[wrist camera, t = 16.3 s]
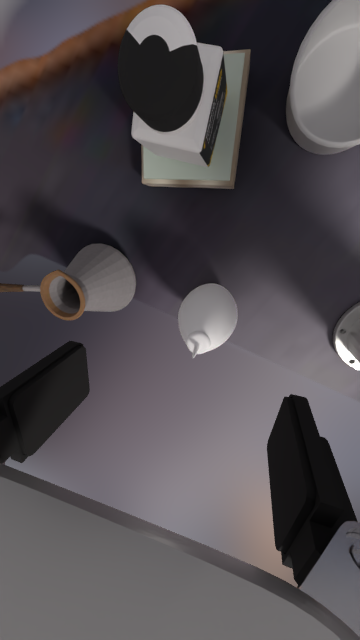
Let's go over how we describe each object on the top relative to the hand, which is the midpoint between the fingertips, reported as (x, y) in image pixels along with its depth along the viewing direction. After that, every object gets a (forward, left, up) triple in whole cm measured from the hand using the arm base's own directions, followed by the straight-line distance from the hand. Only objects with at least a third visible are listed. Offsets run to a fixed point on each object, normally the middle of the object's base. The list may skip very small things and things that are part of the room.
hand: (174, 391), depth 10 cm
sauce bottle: (+1, +5, -28) cm, 29 cm away
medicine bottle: (+6, -17, -25) cm, 30 cm away
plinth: (+6, -17, -28) cm, 33 cm away
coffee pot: (+24, +3, -28) cm, 37 cm away
